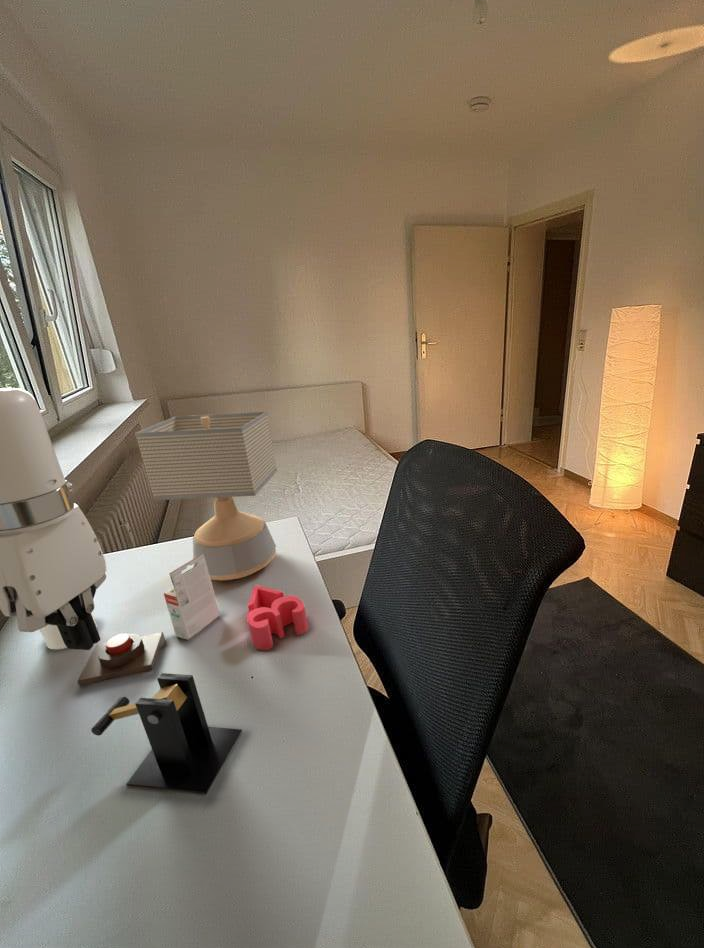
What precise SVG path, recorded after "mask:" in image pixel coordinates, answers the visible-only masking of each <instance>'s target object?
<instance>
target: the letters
mask: <svg viewBox="0 0 704 948" xmlns="http://www.w3.org/2000/svg"><path fill="white" fill-rule="evenodd" d="M247 609H248V613H247V615H246V620H247V625H248V629H249V633H250V639H251V642H252V644H253V647H255V648H256V649H257V650H258V651H268V650H270V649H271V648H273V646H274V641H273V636H272V634H273V635H277V636H278V637H279V639H282V638H284V637H285V632H284V627H285V626H287V625H290V624H292V623H293V624H294V630H295V631H294V632H295V634H297V635H302V634H305V633H307V631H308V629H309V626H308V620H307V615H306V608H305V603H304V602H303V600H302V599H301V598H299V597H297V596H295V595H284V591H282V590H277V589H274V588H269V587H266V586H263V585H262V586H261V585H257V584H256V585H254V586H253V588H252V591H251V594H250V597H249V601H248V604H247Z"/></svg>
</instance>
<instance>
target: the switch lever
mask: <svg viewBox="0 0 704 948" xmlns="http://www.w3.org/2000/svg"><path fill="white" fill-rule="evenodd" d="M152 698H153V699H167V700H173V701H174V704H175V707H176V710H177V711H178V709H179V708H180V707H181V705H182V704H183V703H184V701H185V700H186V699H187V697H186V695H185V694H184V693H183V691H182V690H181V689H180V687H179V686H178V685H177V684H175V685H171V686H168V687H164V688H160V689H159V690H158V691H157V692H156V693H155V695H154V696H153V697H152ZM135 704H136V702H134V703H131V704H130V699H129V698H128V697H126V696H124V695H121V696H120V697H119V698H118V699H117V700H116V701H115V702H114V703H113V704H112V705H111V707H110V708H109V709H107V711H106V712H105V713H104V714H103V715H102V716H101V717H100V719H99V720H98V721H97V722H96V723H95V724H94V725H93V726H92V727H91V729H90V731H91V733H92V734H93V735H94V736H98V737H100V736H101V735H103V734H104V733H105V732H106V730H107V729H108V728H109V727H110V726H111V725H112V724H113V722H114V721H116V720H121V719H125V718H128V717H131V716H136V715H139V713H138V710H137V707H136V705H135Z"/></svg>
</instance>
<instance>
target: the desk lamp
mask: <svg viewBox="0 0 704 948" xmlns="http://www.w3.org/2000/svg"><path fill="white" fill-rule="evenodd" d="M134 436H135V438H136V441H137V445H138V448H139V452H140V455H141V459H142V462H143V466H144V469H145V472H146V476H147V479H148V484H149V486H150V490H151V493H152V499H153V501H170V500H171V501H173V500H190V499H191V500H193V499H195V500H196V499H213V498H215V499H214V500H213V506H214V516H212V517H211V518H210V519H209V520H207V521H206V522H204V524H202V525H201V526H200V527H198V528H197V529H196V531H195V533H194V534H193V535H194V536H193V537H192V560H193V559H194V558H196V557H198V556H199V555H201V554H204V558H205V561H206V565H207V569H208V572H209V575H210V578H211V581H233V580H239V579H242V578H246V577H249V576H251V575H253V574H254V573H256V572H258V571H260V570H261V569H263V568H265V567H266V566H268V565H269V564H270V563H271V562H272V561H273V560H274V559H275V558H276V552H277V549H276V547H277V545H276V543H275V540H274V539H273V536H272V533H271V531H270V530H269V527H268V525H267V523H266V522H265V521H264V519H263V518H261V516H259V515H256V514H252V513H247V512H244V511H240V510H238V509H237V506H236V504H235V501H234V499H233V498H235V497H237V498H238V497H256V495H257V494H258V493H259V492H260V491H261V490H262V489H263V488H264V486H266V485H267V483H268V482H269V481H270V480H271V478H273V476H274V475H275V474H276V473H277V472H278V467H277V464H276V458H275V452H274V447H273V440H272V435H271V430H270V423H269V418H268V411H252V412H251V411H249V412H233V413H232V412H231V413H213V414H195V415H177V416H173V417H170V418H168V419H165V420H163V421H160V422H158V423H156V424H153V425H151V426H149V427H146V428H143V429H141V430H139V431H136V432H134ZM195 565H196V564H195V563H194V564H192V566H193V567H194V566H195Z"/></svg>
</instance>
